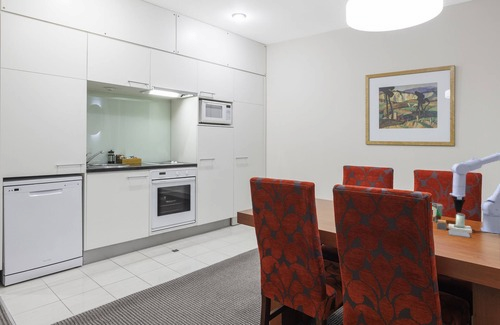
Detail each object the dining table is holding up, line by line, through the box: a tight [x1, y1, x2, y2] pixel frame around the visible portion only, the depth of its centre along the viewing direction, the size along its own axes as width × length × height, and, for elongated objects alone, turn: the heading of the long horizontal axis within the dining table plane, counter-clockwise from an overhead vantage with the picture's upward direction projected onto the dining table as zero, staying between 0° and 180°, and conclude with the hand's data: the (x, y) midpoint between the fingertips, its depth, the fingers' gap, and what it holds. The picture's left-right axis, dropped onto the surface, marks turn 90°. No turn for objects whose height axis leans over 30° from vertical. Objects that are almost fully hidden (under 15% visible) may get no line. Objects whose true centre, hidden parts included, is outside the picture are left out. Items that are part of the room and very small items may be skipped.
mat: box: [447, 229, 471, 238], centre depth 165 cm, size 9×9×1 cm
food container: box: [431, 202, 445, 224], centre depth 194 cm, size 12×6×10 cm, turn 179°
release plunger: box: [438, 219, 447, 224], centre depth 176 cm, size 4×4×4 cm
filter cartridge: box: [455, 212, 466, 228], centre depth 174 cm, size 4×4×9 cm
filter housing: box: [436, 222, 473, 234], centre depth 175 cm, size 16×10×3 cm, turn 60°
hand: (457, 211), depth 174 cm, fingers open, 7 cm apart
